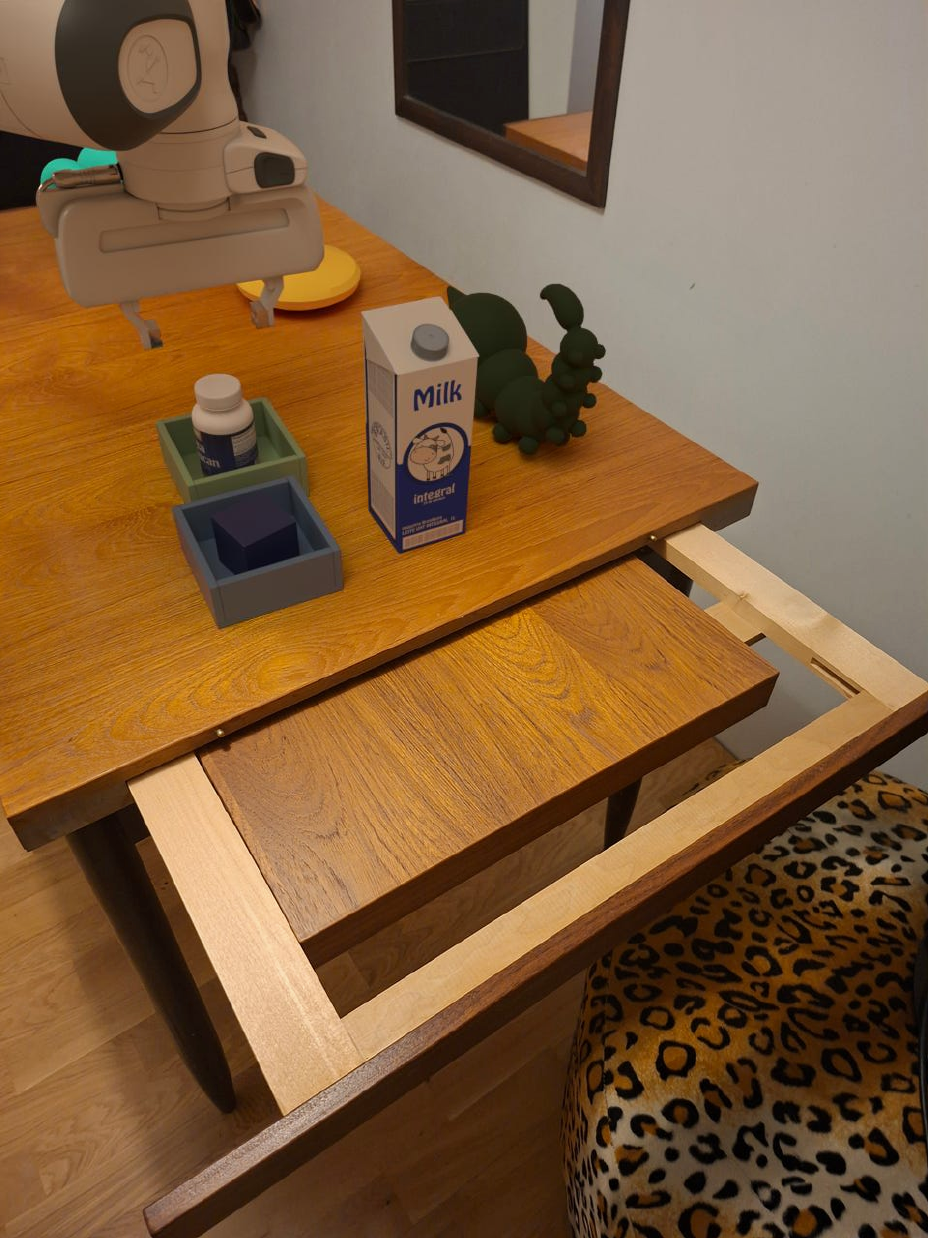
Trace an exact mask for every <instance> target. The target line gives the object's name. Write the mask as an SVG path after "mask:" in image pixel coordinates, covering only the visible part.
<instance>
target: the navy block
mask: <svg viewBox="0 0 928 1238" xmlns="http://www.w3.org/2000/svg"><path fill="white" fill-rule="evenodd" d="M210 517H211V522H212V527H213V532H214V536H215V541H216V546H217V551H218V556H219V561H220V562H222V563H223V564H224V565H225V566H226V567H227V568H228V569H229V570H230V571H231V572H232V573H233V574H234V575H238V574H241V573H244V572H248V571H251V570H254V569H258V568H261V567H264V566H268V565H271V564H274V563H278V562H281V561H284V560H288V559H291V558H295V557H298V556H300V552H299V543H298V534H297V525H296V521H295V520H294V519H293V518H292V517H291V516H289V515H288V514H287V513H286V512H285V511H283V510H282V509H281V508H280V507H279V506H277V505H276V504H275V503H274V502H273V501H272V500H270V499H269V498H268V497H267V496H266V495H264V494H263V493H262V492H260V493H258V494H256V495H254V496H252V497H250V498H247V499H245V500H243V501H241V502H239V503H237V504H235V505H232V506H230V507H228V508H226V509H224V510H222V511H220V512H217V513H215V514H213V515H211V516H210Z"/></svg>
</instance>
